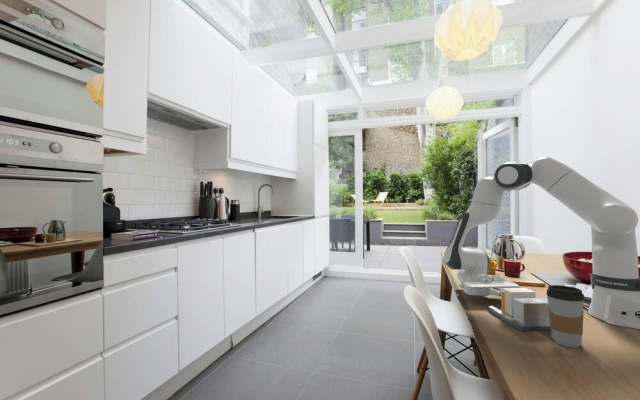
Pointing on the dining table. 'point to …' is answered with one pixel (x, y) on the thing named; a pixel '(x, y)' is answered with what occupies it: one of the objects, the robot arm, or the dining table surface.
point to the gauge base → (526, 314)
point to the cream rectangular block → (512, 293)
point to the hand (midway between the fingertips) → (502, 294)
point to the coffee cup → (566, 314)
